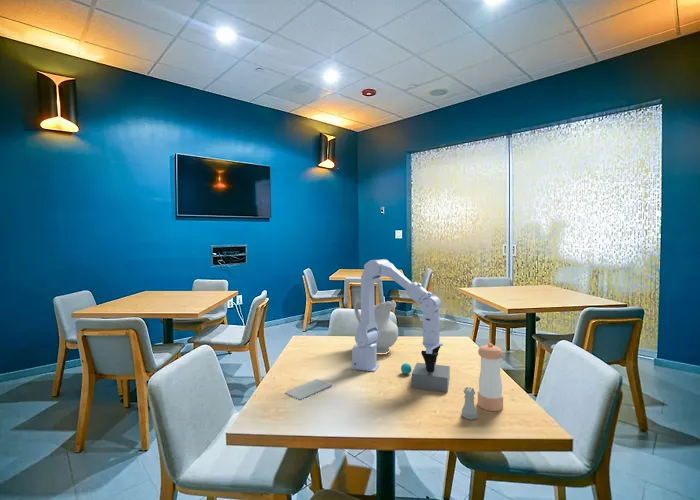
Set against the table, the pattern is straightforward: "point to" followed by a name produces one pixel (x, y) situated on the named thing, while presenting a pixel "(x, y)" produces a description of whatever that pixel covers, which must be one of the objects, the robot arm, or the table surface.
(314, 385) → the smartphone
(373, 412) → the table surface
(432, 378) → the gray square knob slab
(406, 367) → the ball
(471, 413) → the rook chess piece
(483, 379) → the pepper shaker
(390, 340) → the ceramic pitcher
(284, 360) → the table surface
